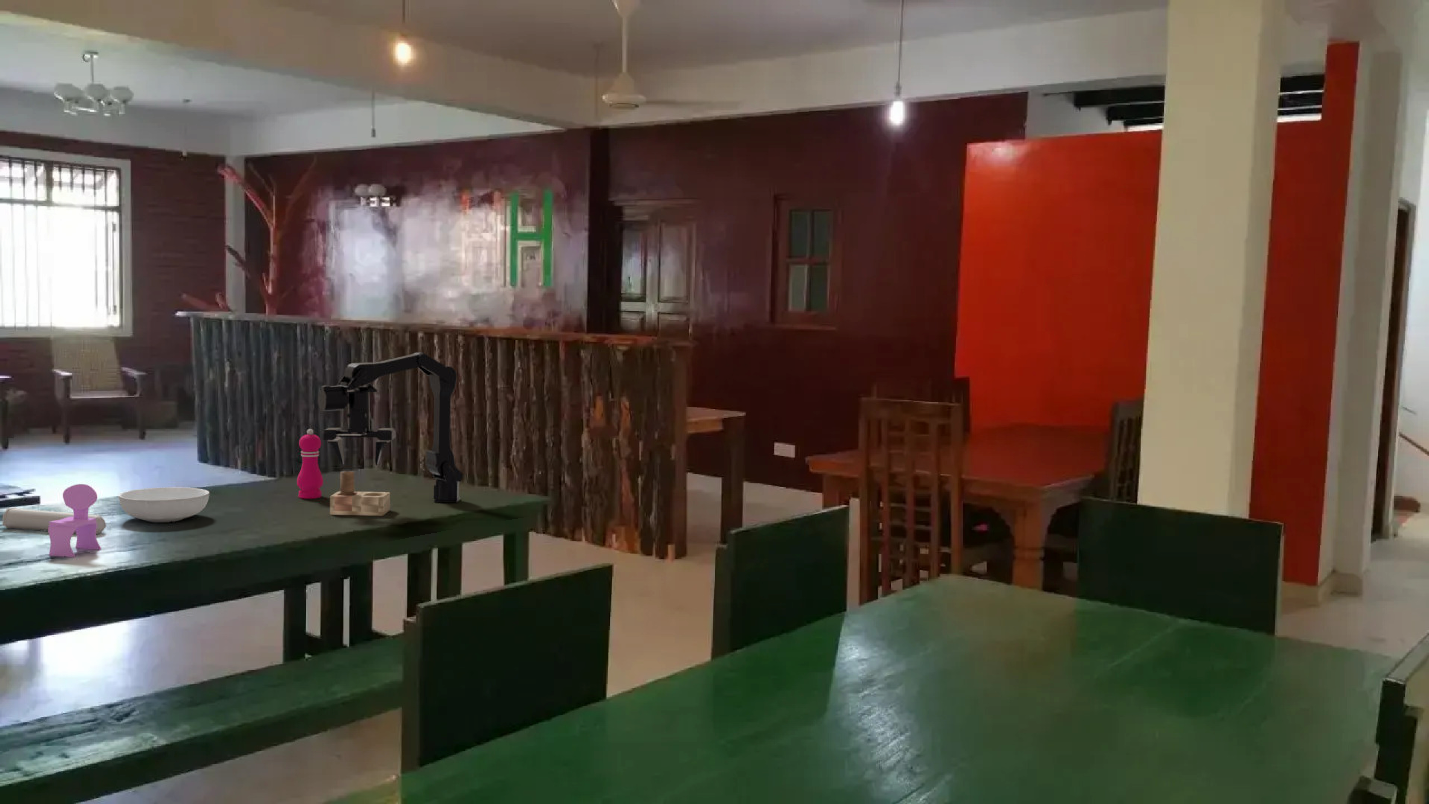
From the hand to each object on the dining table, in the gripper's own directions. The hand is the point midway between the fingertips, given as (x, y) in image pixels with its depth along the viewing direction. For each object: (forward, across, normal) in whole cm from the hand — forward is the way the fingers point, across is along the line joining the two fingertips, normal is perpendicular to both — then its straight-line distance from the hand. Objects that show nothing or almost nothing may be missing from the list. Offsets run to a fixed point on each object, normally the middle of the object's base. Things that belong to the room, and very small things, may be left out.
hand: (359, 465), depth 301 cm
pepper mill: (+12, +19, -18) cm, 29 cm away
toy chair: (+11, +49, +57) cm, 76 cm away
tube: (+11, +64, +34) cm, 73 cm away
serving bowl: (+12, +45, +18) cm, 50 cm away
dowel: (+11, +2, +4) cm, 12 cm away
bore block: (+12, -1, +4) cm, 13 cm away
